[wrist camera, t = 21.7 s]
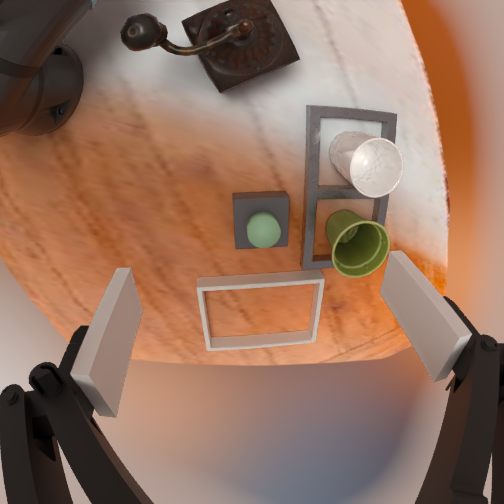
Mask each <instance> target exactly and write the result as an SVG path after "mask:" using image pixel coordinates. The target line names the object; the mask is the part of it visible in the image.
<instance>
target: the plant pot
mask: <svg viewBox="0 0 504 504" xmlns="http://www.w3.org/2000/svg"><path fill="white" fill-rule="evenodd" d="M354 228H355V231H354V233H353V234H352V235H350V234H351V232H352V231H353V229H354ZM326 234H327V237H328V240H329V242H330V245H331V248H332V262H333V265H334V267H335V269H336V270H337V271H338V272H339V273H340V274H342V275H344V276H347V277H351V278H357V277H363V276H366V275H368V274H370V273H372V272H373V271H375V270H376V269H377V268H378V267H379V266H380V265H381V264H382V263H383V261H384V260H385V258H386V257H387V254H388V252H389V247H390V238H389V235H388V232H387V231H386V229H385V228H384V227H383V226H382V225H381V224H379V223H377V222H374V221H369V220H365V219H363V218H362V217H360V216H358V215H357V214H355V213H354V212H352V211H350V210H342V211H338V212H335V213H334V214H332V215H331V216H330V218H329V219H328V221H327V223H326Z"/></svg>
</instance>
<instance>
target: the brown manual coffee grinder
mask: <svg viewBox="0 0 504 504" xmlns="http://www.w3.org/2000/svg"><path fill="white" fill-rule="evenodd" d="M182 25H183V27H184V30H185V33H186V35H187V36H188V38H189V40H190V42H191V44H192V46H191V47H179V46H176V45H174V44H172V43H171V42H170V41H168V40H167V39H166V38H167V34H168V32H167V28H166V26H165V25H163V24H162V23H160V22H158V19H157V18H156V17H155V16H152V15H150V14H148V13H144V14H140V15H135V16H132V17H130V18H128V20H127V21H126V23H125V25H124V27H123V28H122V30H121V32H120V33H121V39H122V42H123V44H124V45H126V46H127V47H128V48H129V49H130V50H132V51H141V50H145V49H150V48H151V47H156V46H159V45H160V46H161V47H162V48H163V49H165V50H166V51H167V52H170V53H173V54H176V55H182V56H190V55H197V56H198V58H199V60H200V61H201V63H202V65H203V67H204V69H205V71H206V73H207V74H208V76H209V78H210V79H211V81H212V82H213V84H214V85H215V86H216V88H217V89H218V91H219V92H220V93H222V92H224V91H227V90H231V89H233V88H235V87H237V86H239V85H242V84H244V83H246V82H249V81H251V80H253V79H255V78H258V77H260V76H262V75H265V74H267V73H270V72H272V71H275V70H277V69H279V68H281V67H284V66H286V65H288V64H291V63H293V62H296V61H298V60H300V58H299V56H298V53H297V51H296V48H295V46H294V44H293V42H292V40H291V38H290V36H289V34H288V32H287V30H286V28H285V26H284V24H283V22H282V20H281V19H280V17H279V15H278V13H277V11H276V9H275V7H274V6H273V4H272V2H271V1H270V0H228V1H226V2H223V3H220V4H218V5H216V6H213V7H211V8H208V9H206V10H204V11H201V12H199V13H197V14H195V15H193V16H191V17H189V18H187V19H185V20H183V21H182Z"/></svg>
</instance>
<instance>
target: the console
mask: <svg viewBox="0 0 504 504" xmlns="http://www.w3.org/2000/svg"><path fill="white" fill-rule="evenodd" d="M233 211H234V232H235V247H236V249H251V248H259V247H256V246H254V245H253V244H252V243H251V242H250V241H249V239H248V234H247V228H246V225H247V221H248V219H249V218H250V217H251V216H252V215H253V214H255V213H257V212H262V211H264V212H269V213H271V214H272V215H274V216H275V218H276V219H277V222H278V224H279V227H280V230H281V235H280V238H279V240H278V241H277V242H276V243H275V244H274V245H273V246H271V247H285V246H288V220H289V196H288V195H287V193H286V191H268V192H245V193H233Z"/></svg>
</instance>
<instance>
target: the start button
mask: <svg viewBox="0 0 504 504" xmlns="http://www.w3.org/2000/svg"><path fill="white" fill-rule="evenodd" d="M246 228H247V234H248V239H249V241H250V242H251V243H252V244H253V245H254V246H256V247H259V248H268V247H271V246H273V245H274V244H275V243H276V242H277V241H278V240H279V238H280V235H281V230H280V227H279V224H278V222H277V219H276V218H275V216H274V215H272V214H271V213H269V212H264V211H262V212H257V213H255V214H253V215H252V216H251V217H250V218H249V219H248V221H247V225H246Z"/></svg>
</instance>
